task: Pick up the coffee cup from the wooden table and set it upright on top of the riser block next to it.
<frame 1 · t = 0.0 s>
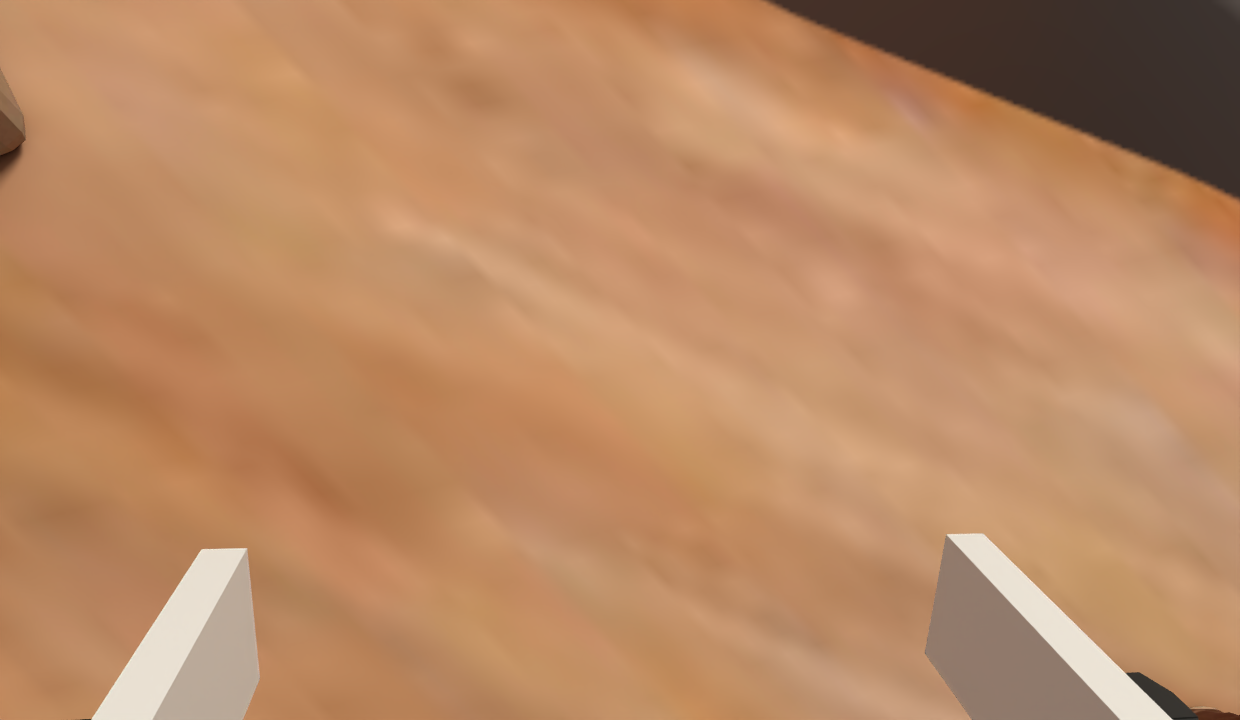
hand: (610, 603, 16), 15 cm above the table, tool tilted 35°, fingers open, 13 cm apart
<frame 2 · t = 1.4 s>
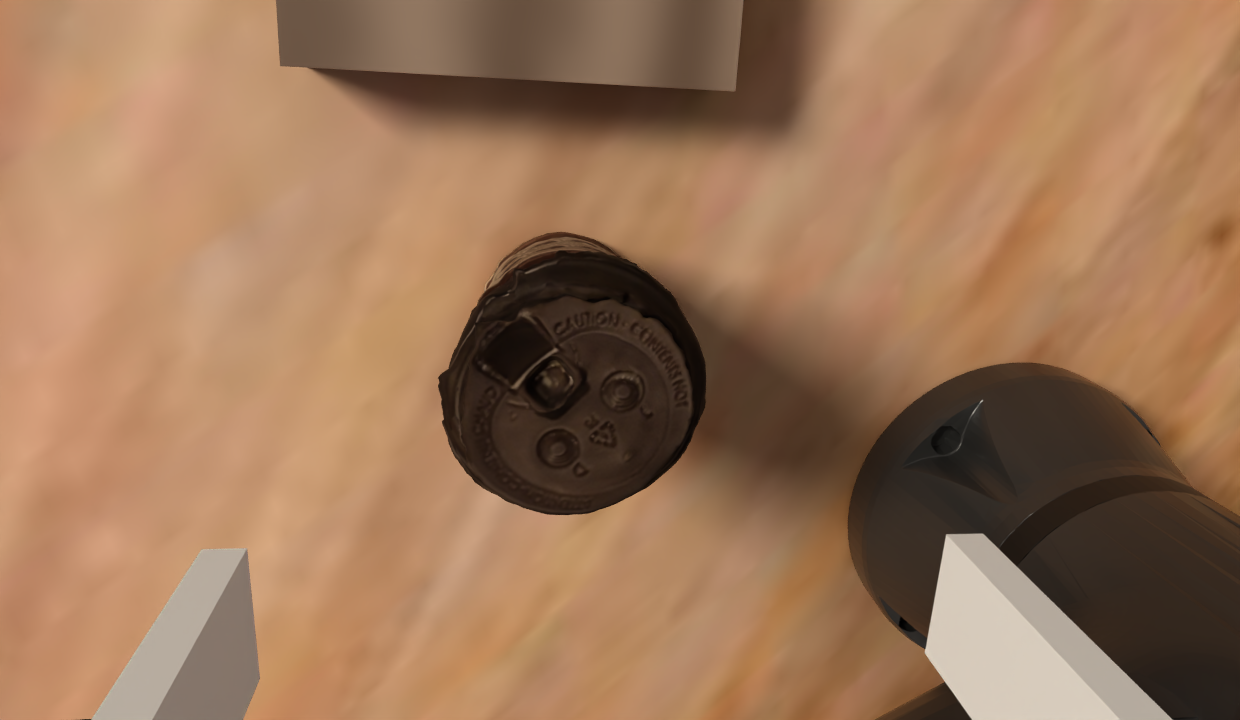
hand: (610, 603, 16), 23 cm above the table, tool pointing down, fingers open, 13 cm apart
coffee cup: (557, 298, 38), on the table
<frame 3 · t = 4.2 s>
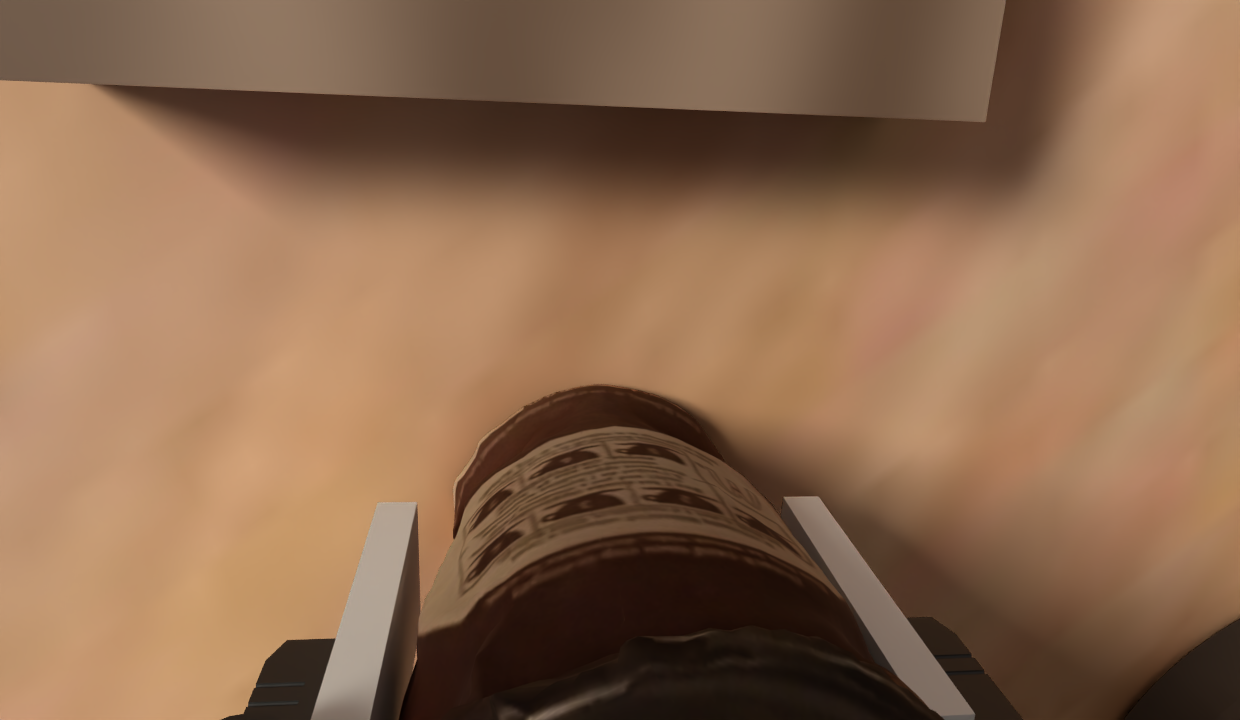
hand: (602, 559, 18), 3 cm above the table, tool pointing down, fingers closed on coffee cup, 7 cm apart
coffee cup: (589, 496, 21), on the table, touching gripper
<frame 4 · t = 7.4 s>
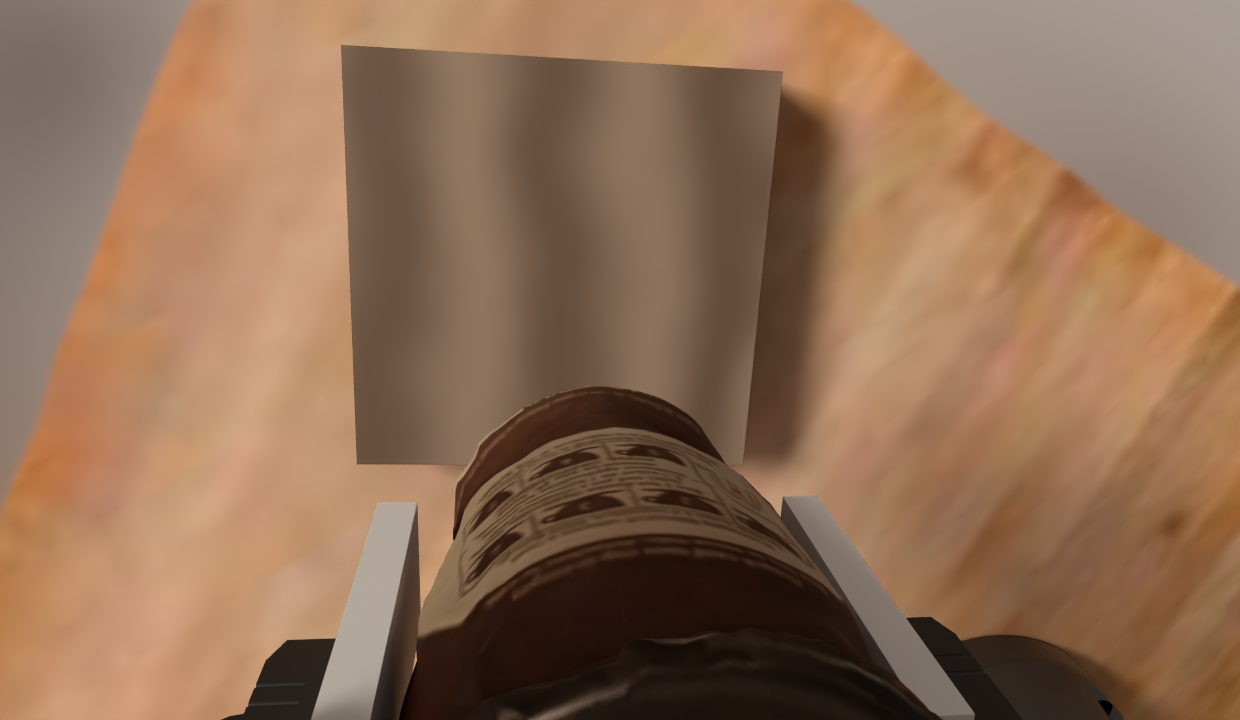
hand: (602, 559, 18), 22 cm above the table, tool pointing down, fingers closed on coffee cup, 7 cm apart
coffee cup: (589, 497, 21), point 19 cm above the table, touching gripper
riser: (556, 256, 38), on the table
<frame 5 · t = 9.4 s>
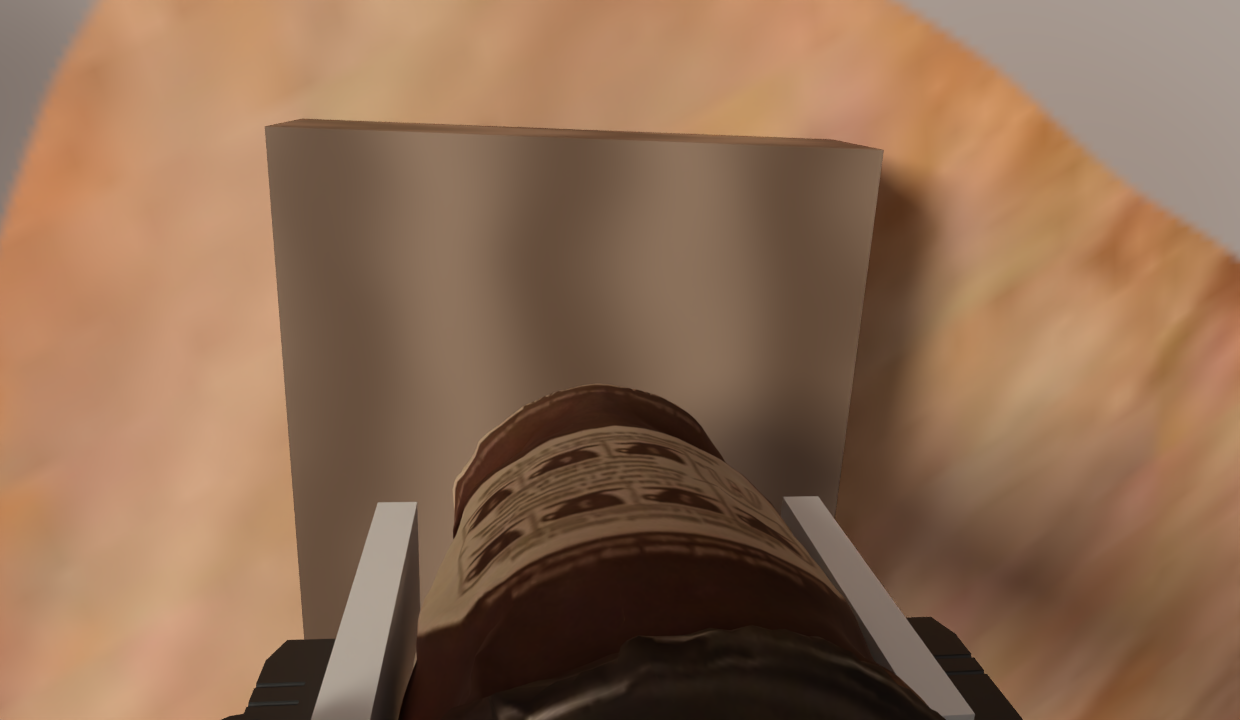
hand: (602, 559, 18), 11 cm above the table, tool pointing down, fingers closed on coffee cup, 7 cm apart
coffee cup: (589, 495, 21), point 9 cm above the table, touching gripper
riser: (570, 380, 29), on the table
when the fingers open (8 cm above the table, at t = 11.0 s): coffee cup drops 1 cm, resting on riser.
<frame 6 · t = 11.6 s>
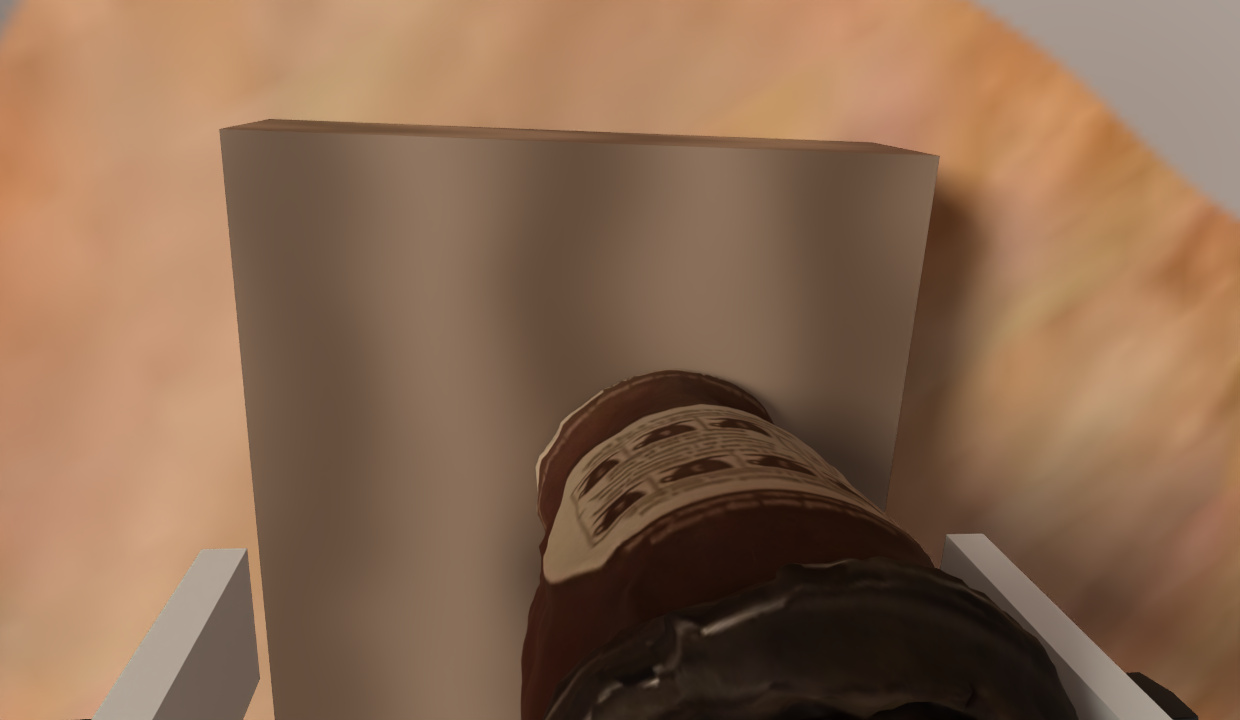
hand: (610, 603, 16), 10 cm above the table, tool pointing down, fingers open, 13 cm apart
coffee cup: (658, 473, 22), point 4 cm above the table, touching riser
riser: (575, 412, 26), on the table
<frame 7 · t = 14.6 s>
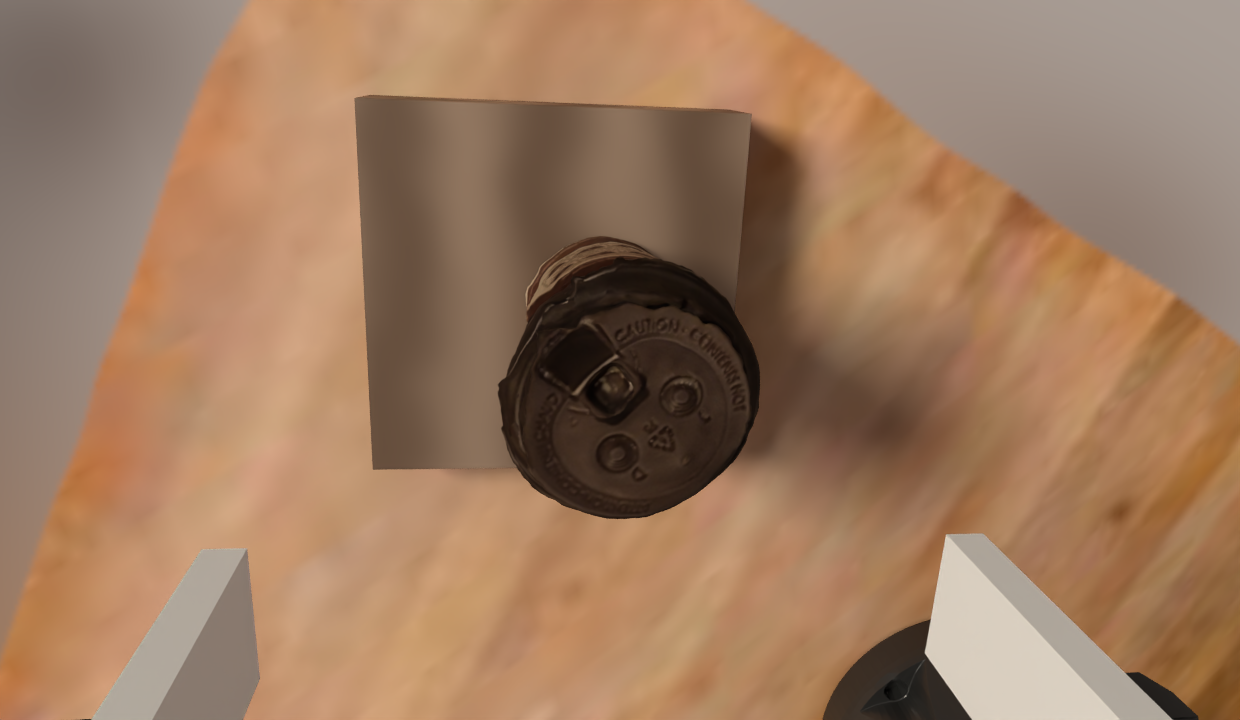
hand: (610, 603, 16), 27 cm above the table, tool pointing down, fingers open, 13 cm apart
coffee cup: (597, 301, 38), point 4 cm above the table, touching riser
riser: (550, 277, 42), on the table
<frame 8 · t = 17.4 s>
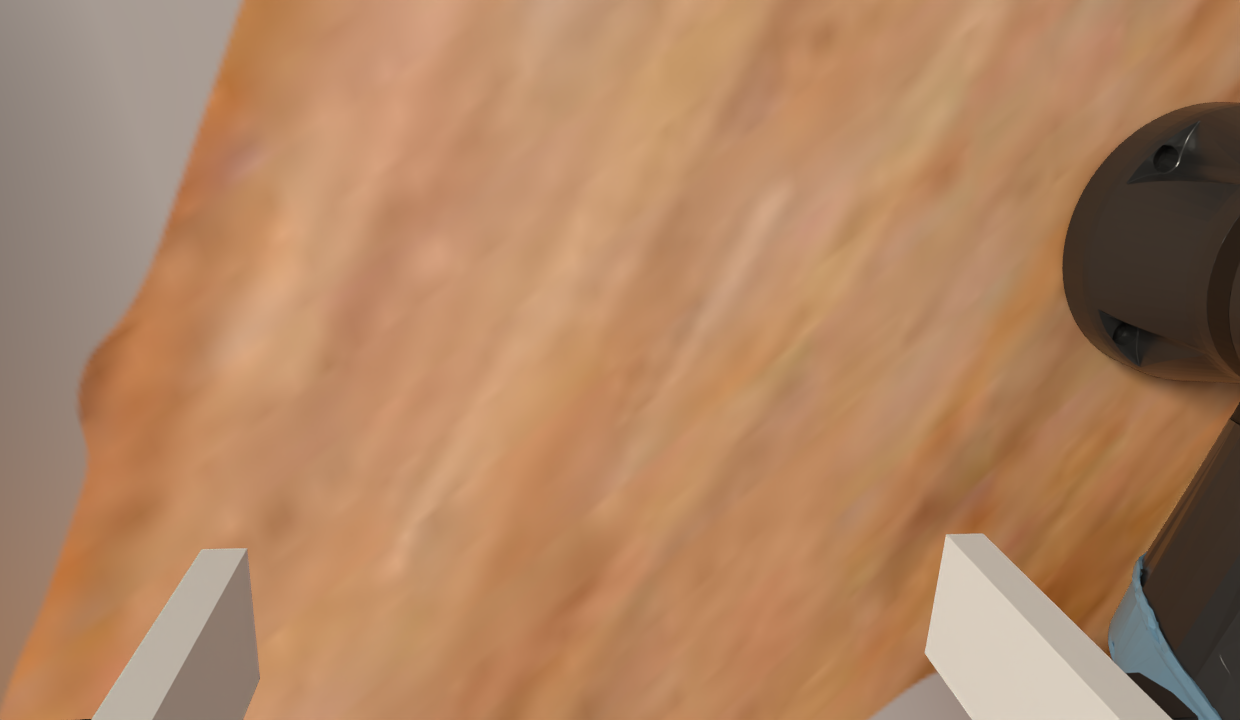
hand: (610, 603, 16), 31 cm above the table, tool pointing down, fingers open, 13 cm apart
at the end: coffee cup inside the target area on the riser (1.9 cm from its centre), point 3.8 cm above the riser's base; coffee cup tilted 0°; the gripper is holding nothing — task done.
